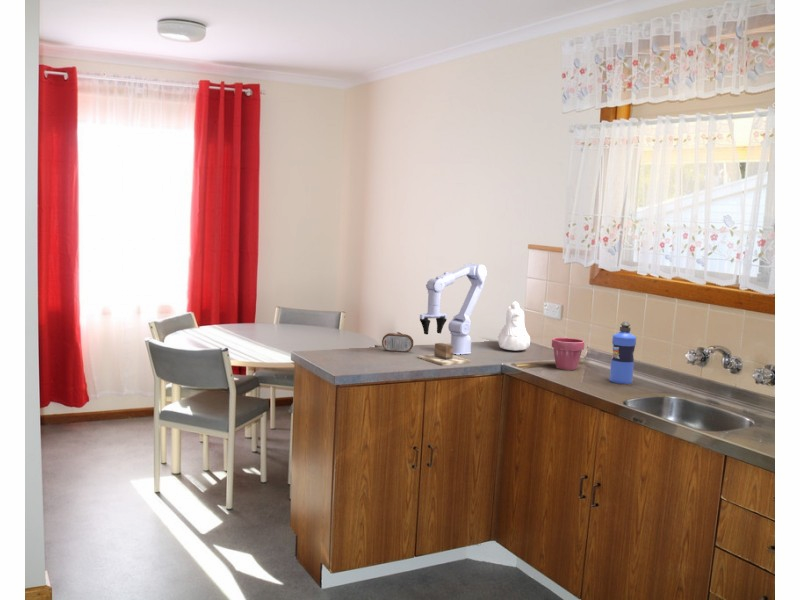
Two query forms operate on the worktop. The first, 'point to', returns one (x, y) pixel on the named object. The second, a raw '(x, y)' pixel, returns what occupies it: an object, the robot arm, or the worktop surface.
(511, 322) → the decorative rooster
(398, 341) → the tin
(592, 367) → the worktop surface
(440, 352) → the block
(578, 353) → the plant pot
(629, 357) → the water bottle
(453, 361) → the board
